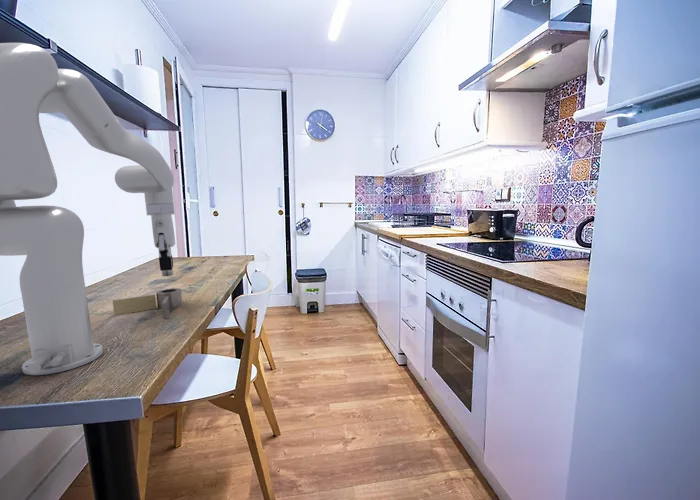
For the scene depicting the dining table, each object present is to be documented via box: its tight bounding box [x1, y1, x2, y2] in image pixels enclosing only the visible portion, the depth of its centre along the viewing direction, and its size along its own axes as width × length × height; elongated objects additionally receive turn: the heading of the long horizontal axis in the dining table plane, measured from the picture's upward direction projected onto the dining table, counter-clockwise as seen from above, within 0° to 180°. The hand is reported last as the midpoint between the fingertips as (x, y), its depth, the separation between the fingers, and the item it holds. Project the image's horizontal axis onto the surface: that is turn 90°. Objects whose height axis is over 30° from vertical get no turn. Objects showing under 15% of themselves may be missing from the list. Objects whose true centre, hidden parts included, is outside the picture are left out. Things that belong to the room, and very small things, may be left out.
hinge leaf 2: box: [155, 287, 184, 320], centre depth 100 cm, size 17×7×5 cm, turn 23°
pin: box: [161, 245, 174, 277], centre depth 103 cm, size 4×4×12 cm
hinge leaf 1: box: [112, 293, 158, 316], centre depth 100 cm, size 11×1×4 cm, turn 122°
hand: (166, 268), depth 104 cm, fingers closed on pin, 3 cm apart
